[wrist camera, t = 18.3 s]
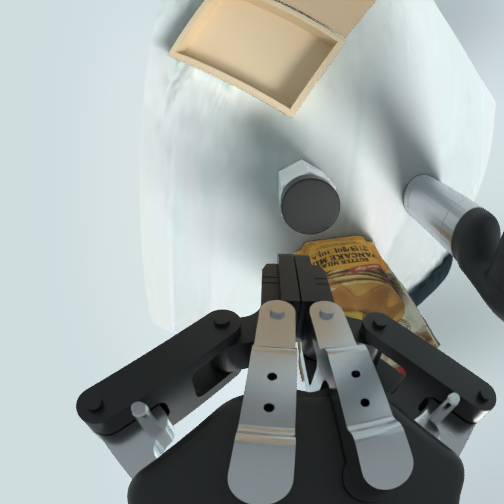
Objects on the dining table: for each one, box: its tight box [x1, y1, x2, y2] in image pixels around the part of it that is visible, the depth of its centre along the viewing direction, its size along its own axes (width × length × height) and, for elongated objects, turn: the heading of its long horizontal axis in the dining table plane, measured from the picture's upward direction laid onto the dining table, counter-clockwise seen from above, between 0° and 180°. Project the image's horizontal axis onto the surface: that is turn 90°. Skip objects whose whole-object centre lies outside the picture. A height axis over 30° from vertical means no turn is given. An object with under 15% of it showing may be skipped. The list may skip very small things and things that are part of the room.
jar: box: [278, 159, 340, 234], centre depth 41 cm, size 9×8×12 cm
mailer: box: [168, 0, 346, 118], centre depth 33 cm, size 16×22×4 cm
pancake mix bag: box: [293, 235, 440, 382], centre depth 40 cm, size 7×19×28 cm, turn 100°
